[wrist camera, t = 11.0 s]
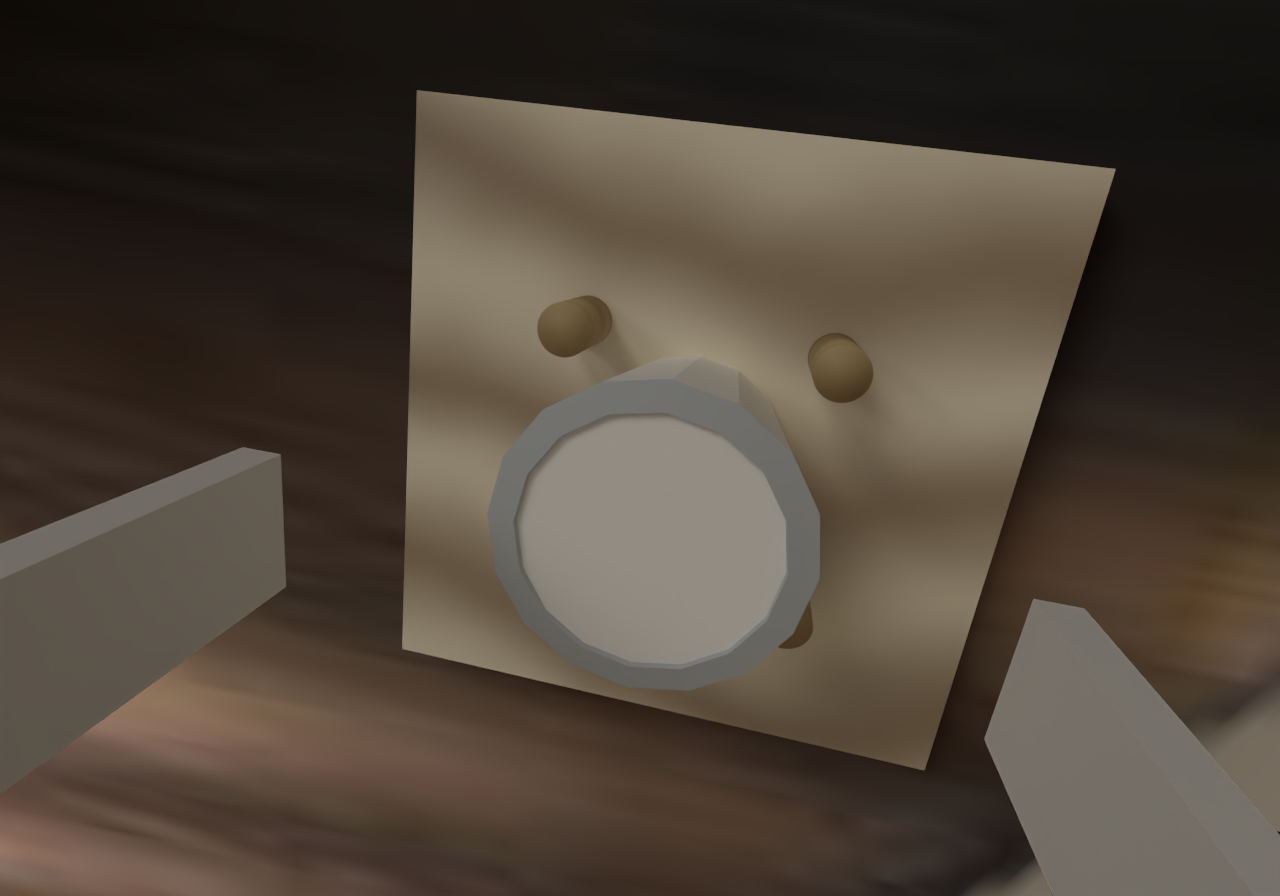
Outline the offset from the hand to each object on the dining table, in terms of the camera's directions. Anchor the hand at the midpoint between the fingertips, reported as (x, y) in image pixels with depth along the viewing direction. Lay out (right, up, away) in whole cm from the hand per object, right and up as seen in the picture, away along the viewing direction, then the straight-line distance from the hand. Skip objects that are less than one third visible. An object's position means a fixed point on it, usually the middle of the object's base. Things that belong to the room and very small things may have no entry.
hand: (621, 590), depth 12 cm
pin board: (+2, +3, +10) cm, 10 cm away
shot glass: (+2, +2, +9) cm, 9 cm away
